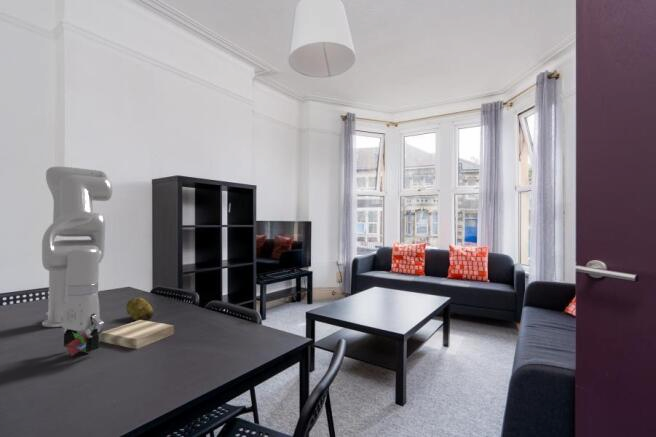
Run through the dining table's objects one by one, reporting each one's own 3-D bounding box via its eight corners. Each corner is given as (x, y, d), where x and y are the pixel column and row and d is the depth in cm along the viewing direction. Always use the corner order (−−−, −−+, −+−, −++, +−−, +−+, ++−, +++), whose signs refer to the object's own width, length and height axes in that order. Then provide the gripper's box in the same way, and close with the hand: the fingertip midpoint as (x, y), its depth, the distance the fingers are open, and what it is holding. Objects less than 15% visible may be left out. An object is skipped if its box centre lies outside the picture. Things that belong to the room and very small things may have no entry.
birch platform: (101, 341, 101) (101, 332, 101) (140, 327, 114) (140, 319, 114) (136, 349, 95) (137, 339, 95) (173, 334, 108) (173, 325, 108)
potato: (130, 325, 117) (130, 304, 117) (124, 317, 127) (125, 297, 127) (154, 320, 122) (155, 300, 122) (147, 313, 132) (148, 294, 132)
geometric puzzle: (67, 355, 85) (87, 327, 90) (52, 351, 88) (72, 323, 92) (89, 362, 91) (107, 335, 95) (75, 358, 93) (93, 332, 98)
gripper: (49, 289, 91) (47, 347, 91) (88, 295, 85) (86, 357, 85) (77, 284, 98) (75, 338, 98) (115, 289, 92) (114, 347, 92)
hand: (81, 347), depth 92 cm, fingers open, 9 cm apart
